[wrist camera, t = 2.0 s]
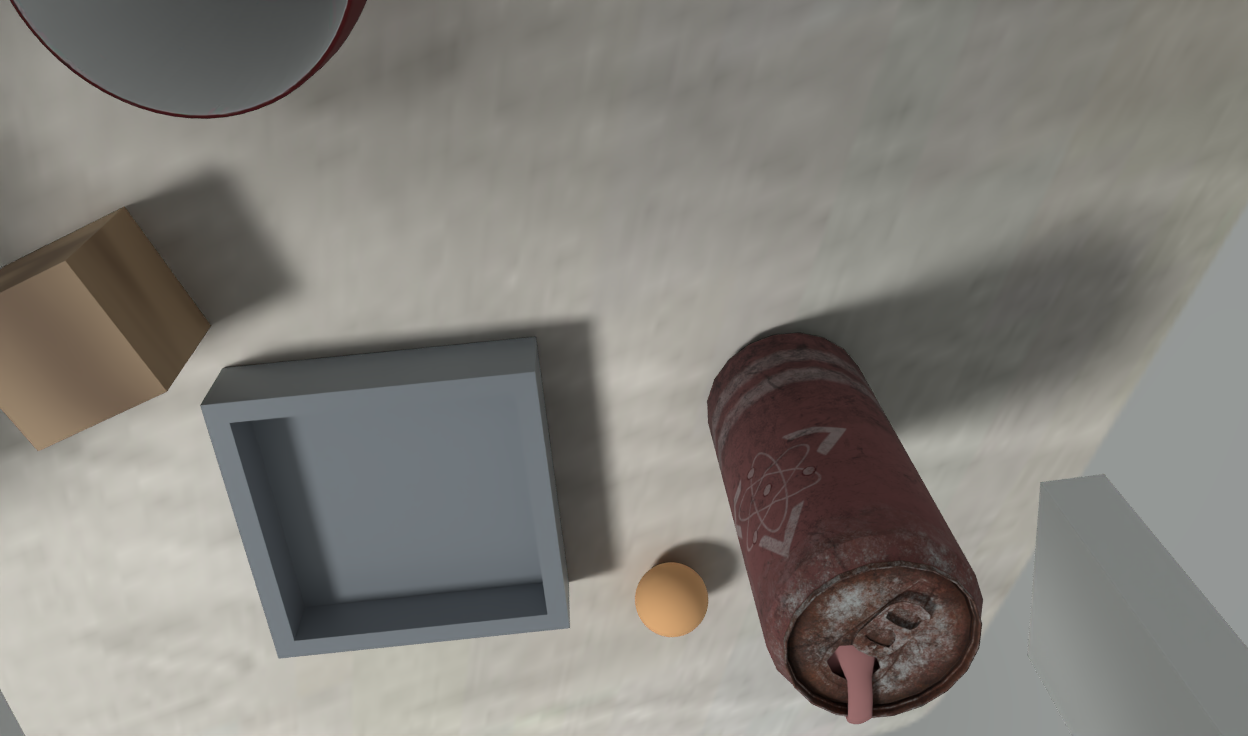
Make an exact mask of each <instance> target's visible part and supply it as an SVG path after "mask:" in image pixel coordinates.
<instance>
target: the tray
mask: <svg viewBox="0 0 1248 736" xmlns="http://www.w3.org/2000/svg"><path fill="white" fill-rule="evenodd" d="M200 406H201V409H202V413H203V416H204V419H205V422H206V426H207V429H208V432H209V435H210V439H211V442H212V445H213V448H214V451H215V455H216V458H217V461H218V464H219V468H220V471H221V474H222V477H223V480H224V484H225V487H226V490H227V493H228V497H229V500H230V503H231V506H232V509H233V513H234V516H235V519H236V522H237V526H238V529H239V532H240V535H241V539H242V542H243V545H244V548H245V551H246V555H247V558H248V561H249V564H250V568H251V571H252V574H253V577H254V580H255V584H256V587H257V590H258V593H259V597H260V600H261V603H262V606H263V610H264V613H265V616H266V619H267V622H268V626H269V629H270V632H271V635H272V639H273V642H274V645H275V648H276V651H277V655H278V658H288V657H298V656H307V655H317V654H326V653H336V652H345V651H355V650H364V649H374V648H384V647H393V646H403V645H412V644H422V643H431V642H441V641H451V640H460V639H470V638H479V637H489V636H498V635H508V634H518V633H527V632H537V631H546V630H556V629H565V628H570V611H569V580H568V573H567V565H566V558H565V550H564V543H563V535H562V528H561V520H560V513H559V505H558V498H557V490H556V483H555V475H554V468H553V461H552V453H551V446H550V438H549V431H548V423H547V416H546V408H545V401H544V393H543V386H542V378H541V371H540V363H539V356H538V348H537V341H536V337H529V338H519V339H509V340H499V341H488V342H478V343H468V344H458V345H448V346H438V347H428V348H418V349H408V350H398V351H388V352H378V353H368V354H358V355H348V356H338V357H328V358H318V359H308V360H298V361H288V362H278V363H268V364H258V365H248V366H238V367H228V368H222V370H221V372H220V373H219V375H218V377H217V378H216V380H215V382H214V383H213V385H212V387H211V388H210V390H209V392H208V393H207V395H206V397H205V398H204V400H203V402H202V403H201V405H200Z"/></svg>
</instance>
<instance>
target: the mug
mask: <svg viewBox="0 0 1248 736" xmlns="http://www.w3.org/2000/svg"><path fill="white" fill-rule="evenodd" d="M10 1H11V3H12V5H13V6H14V8H15V9H16V11H17V13H18V14H19V16H20V17H21V18H22V20H23V21H24V22H25V24H26V25H27V26H28V28H29V29H30V30H31V32H32V33H33V34H34V35H35V36H36V37H37V38H38V39H39V41H40V42H41V43H42V44H43V45H44V46H45V47H46V48H47V49H48V50H49V51H50V52H51V53H52V54H53V55H54V56H55V57H56V58H57V59H58V60H59V61H61V62H62V63H63V64H64V65H65V66H67V67H68V68H69V69H70V70H71V71H73V72H74V73H75V74H77V75H78V76H79V77H81V78H82V79H84V80H85V81H87V82H88V83H89V84H91V85H93V86H94V87H96V88H98V89H100V90H101V91H103V92H105V93H106V94H108V95H111V96H113V97H115V98H117V99H119V100H121V101H123V102H125V103H128V104H131V105H133V106H136V107H138V108H141V109H145V110H148V111H152V112H155V113H159V114H164V115H169V116H174V117H183V118H201V119H210V118H222V117H229V116H234V115H240V114H244V113H247V112H250V111H254V110H257V109H260V108H262V107H264V106H267V105H269V104H272V103H274V102H276V101H278V100H279V99H281V98H283V97H285V96H287V95H288V94H290V93H291V92H293V91H294V90H295V89H297V88H298V87H300V86H301V85H302V84H303V83H304V82H306V81H307V80H308V79H309V78H310V77H311V76H313V75H314V74H315V73H316V72H317V71H318V70H320V69H321V68H322V67H323V66H324V65H325V64H326V63H327V62H328V60H329V59H330V58H331V57H332V56H333V55H334V54H335V53H336V52H337V51H338V50H339V48H340V47H341V46H342V44H343V43H344V41H345V40H346V39H347V37H348V36H349V34H350V32H351V31H352V29H353V27H354V25H355V24H356V22H357V20H358V18H359V16H360V14H361V12H362V10H363V8H364V6H365V4H366V1H367V0H10Z"/></svg>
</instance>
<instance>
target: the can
mask: <svg viewBox="0 0 1248 736" xmlns="http://www.w3.org/2000/svg"><path fill="white" fill-rule="evenodd" d="M707 405H708V424H709V428H710V432H711V436H712V439H713V443H714V447H715V451H716V455H717V459H718V462H719V466H720V470H721V474H722V478H723V482H724V485H725V489H726V493H727V497H728V501H729V505H730V508H731V512H732V516H733V520H734V524H735V528H736V531H737V535H738V539H739V543H740V547H741V551H742V554H743V558H744V562H745V566H746V570H747V574H748V577H749V581H750V585H751V589H752V593H753V597H754V600H755V604H756V608H757V612H758V616H759V620H760V623H761V627H762V631H763V635H764V639H765V643H766V646H767V649H768V651H769V653H770V655H771V658H772V660H773V662H774V664H775V666H776V669H777V670H778V671H779V672H780V673H781V674H782V675H783V676H784V677H785V678H786V679H787V680H788V681H789V682H790V683H791V684H793V686H794V688H795V689H797V690H798V691H799V692H800V693H801V694H802V695H803V696H804V697H805V698H806V699H807V700H808V701H809V702H810V703H811V704H813V705H815V706H818V707H820V708H822V709H824V710H827V711H829V712H831V713H833V714H836V715H842V716H846V719H847V721H848V722H849V723H852V724H861V723H864V722H866V721H867V720H869V719H871V718H876V717H886V716H894V715H897V714H900V713H903V712H906V711H909V710H912V709H915V708H918V707H921V706H924V705H925V704H927V703H928V702H930V701H932V700H933V699H935V698H937V697H938V696H940V695H942V694H943V693H945V692H947V691H948V690H949V689H950V688H951V687H952V686H953V685H954V684H955V683H956V682H957V681H958V680H959V679H960V678H961V677H962V676H963V675H964V674H965V673H966V672H967V670H968V669H969V667H970V664H971V663H972V661H973V659H974V657H975V655H976V653H977V651H978V649H979V646H980V637H981V629H982V622H981V612H982V604H983V598H982V595H981V591H980V588H979V585H978V582H977V578H976V575H975V573H974V571H973V570H972V568H971V566H970V564H969V562H968V561H967V559H966V557H965V555H964V554H963V552H962V550H961V548H960V546H959V545H958V543H957V541H956V539H955V538H954V536H953V534H952V532H951V530H950V529H949V527H948V525H947V523H946V522H945V520H944V518H943V516H942V515H941V513H940V511H939V509H938V507H937V506H936V504H935V502H934V500H933V499H932V497H931V495H930V493H929V491H928V490H927V488H926V486H925V484H924V483H923V481H922V479H921V477H920V475H919V474H918V472H917V470H916V468H915V467H914V465H913V463H912V461H911V459H910V458H909V456H908V454H907V452H906V451H905V449H904V447H903V445H902V443H901V442H900V440H899V438H898V436H897V435H896V433H895V431H894V429H893V428H892V426H891V424H890V422H889V420H888V419H887V417H886V415H885V413H884V412H883V410H882V408H881V406H880V404H879V403H878V401H877V399H876V397H875V396H874V394H873V392H872V390H871V388H870V387H869V385H868V383H867V381H866V380H865V378H864V376H863V374H862V372H861V371H860V369H859V367H858V366H857V364H856V363H855V362H854V361H853V360H852V359H851V357H850V356H849V355H848V354H847V353H846V351H845V350H844V349H842V348H841V347H839V346H837V345H835V344H834V343H832V342H830V341H828V340H827V339H825V338H823V337H818V336H813V335H808V334H803V333H790V334H779V335H772V336H770V337H767V338H764V339H762V340H759V341H757V342H754V343H751V344H749V345H748V346H746V347H745V348H744V349H742V350H741V351H740V352H738V353H737V354H736V355H734V356H733V357H732V358H730V359H729V360H728V361H727V363H726V364H725V365H724V367H723V368H722V370H721V371H720V372H719V374H718V375H717V376H716V378H715V379H714V382H713V385H712V388H711V391H710V394H709V397H708V400H707Z"/></svg>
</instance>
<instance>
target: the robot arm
mask: <svg viewBox="0 0 1248 736" xmlns="http://www.w3.org/2000/svg"><path fill="white" fill-rule="evenodd" d="M1027 655H1028V657H1029V659H1030V661H1031V663H1032V664H1033V666H1034V668H1035V670H1036V672H1037V673H1038V675H1039V677H1040V679H1041V681H1042V682H1043V684H1044V686H1045V688H1046V690H1047V691H1048V693H1049V695H1050V697H1051V699H1052V701H1053V702H1054V704H1055V706H1056V708H1057V710H1058V711H1059V713H1060V715H1061V717H1062V719H1063V720H1064V722H1065V724H1066V726H1067V728H1068V729H1069V731H1070V733H1071V735H1072V736H1248V648H1247V646H1246V645H1245V644H1244V643H1243V642H1242V640H1241V639H1240V638H1239V637H1238V635H1237V634H1236V633H1235V632H1234V631H1233V630H1232V628H1231V627H1230V626H1229V625H1228V623H1227V622H1226V621H1225V620H1224V619H1223V617H1222V616H1221V615H1220V614H1219V613H1218V611H1217V610H1216V609H1215V608H1214V606H1213V605H1212V604H1211V603H1210V602H1209V600H1208V599H1207V598H1206V597H1205V596H1204V594H1203V593H1202V592H1201V591H1200V590H1199V588H1198V587H1197V586H1196V585H1195V583H1194V582H1193V581H1192V580H1191V579H1190V577H1189V576H1188V575H1187V574H1186V572H1185V571H1184V570H1183V569H1182V568H1181V567H1180V565H1179V564H1178V563H1177V562H1176V561H1175V559H1174V558H1173V557H1172V556H1171V554H1170V553H1169V552H1168V551H1167V550H1166V548H1165V547H1164V546H1163V545H1162V544H1161V542H1160V541H1159V540H1158V539H1157V537H1156V536H1155V535H1154V534H1153V533H1152V531H1151V530H1150V529H1149V528H1148V526H1147V525H1146V524H1145V523H1144V522H1143V520H1142V519H1141V518H1140V517H1139V516H1138V514H1137V513H1136V512H1135V511H1134V510H1133V508H1132V507H1131V506H1130V505H1129V503H1128V502H1127V501H1126V500H1125V499H1124V497H1123V496H1122V495H1121V494H1120V493H1119V491H1118V490H1117V489H1116V488H1115V487H1114V485H1113V484H1112V483H1111V482H1110V480H1109V479H1108V478H1107V477H1106V476H1105V475H1104V474H1102V475H1093V476H1085V477H1077V478H1070V479H1062V480H1054V481H1046V482H1041V483H1040V496H1039V509H1038V522H1037V535H1036V548H1035V561H1034V574H1033V588H1032V601H1031V613H1030V626H1029V639H1028V652H1027ZM0 736H25V734H24V733H23V731H22V729H21V727H20V725H19V723H18V721H17V720H16V718H15V716H14V714H13V712H12V710H11V708H10V707H9V705H8V703H7V701H6V699H5V697H4V695H3V694H2V692H1V690H0Z"/></svg>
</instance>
